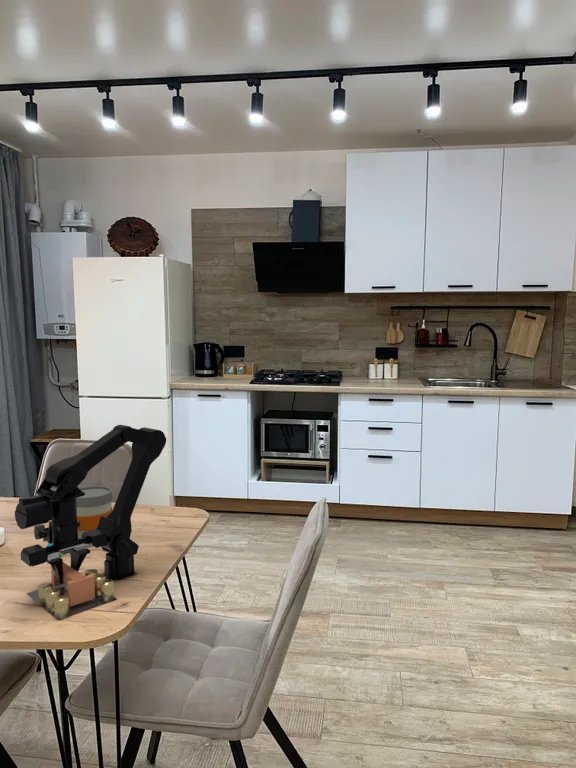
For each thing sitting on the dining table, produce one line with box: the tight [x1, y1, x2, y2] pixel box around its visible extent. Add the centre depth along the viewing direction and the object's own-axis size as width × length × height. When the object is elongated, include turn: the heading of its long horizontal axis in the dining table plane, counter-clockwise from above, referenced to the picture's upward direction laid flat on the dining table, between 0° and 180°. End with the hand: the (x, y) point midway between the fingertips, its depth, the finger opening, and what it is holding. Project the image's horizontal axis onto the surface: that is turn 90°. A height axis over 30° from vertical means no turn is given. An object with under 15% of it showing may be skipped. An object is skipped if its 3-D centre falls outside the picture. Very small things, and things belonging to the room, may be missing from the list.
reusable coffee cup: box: [76, 485, 114, 548], centre depth 174 cm, size 13×13×15 cm
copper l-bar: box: [50, 561, 95, 606], centre depth 138 cm, size 6×14×5 cm, turn 45°
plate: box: [25, 568, 118, 622], centre depth 138 cm, size 14×18×5 cm
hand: (66, 581), depth 139 cm, fingers closed on copper l-bar, 3 cm apart
